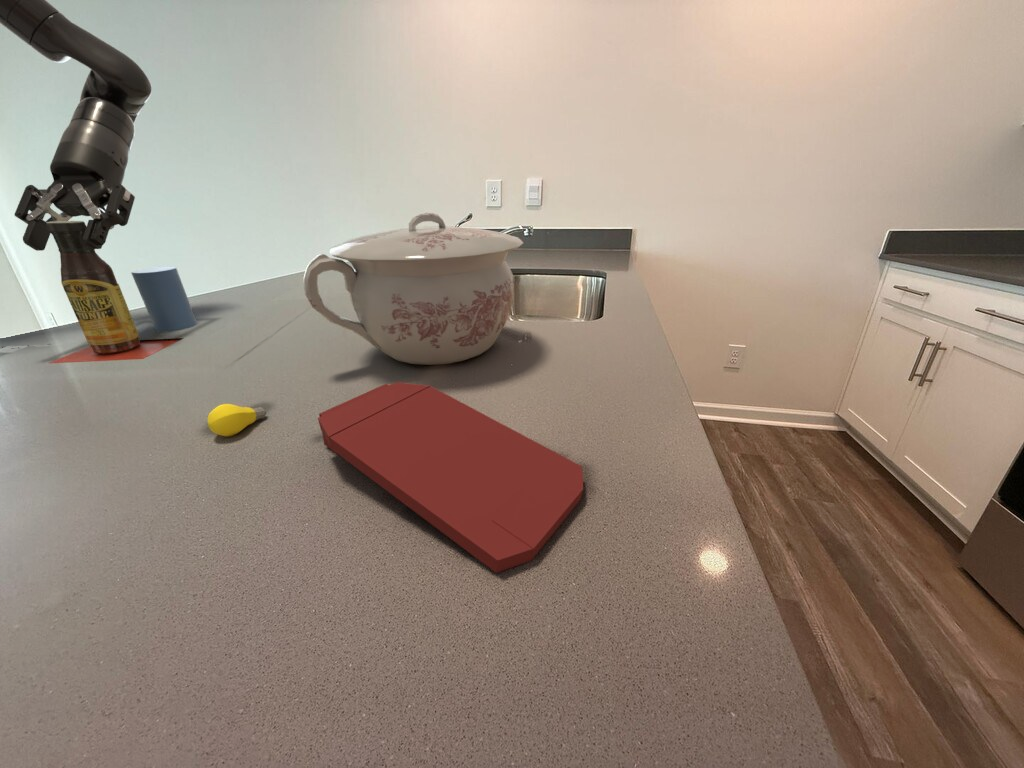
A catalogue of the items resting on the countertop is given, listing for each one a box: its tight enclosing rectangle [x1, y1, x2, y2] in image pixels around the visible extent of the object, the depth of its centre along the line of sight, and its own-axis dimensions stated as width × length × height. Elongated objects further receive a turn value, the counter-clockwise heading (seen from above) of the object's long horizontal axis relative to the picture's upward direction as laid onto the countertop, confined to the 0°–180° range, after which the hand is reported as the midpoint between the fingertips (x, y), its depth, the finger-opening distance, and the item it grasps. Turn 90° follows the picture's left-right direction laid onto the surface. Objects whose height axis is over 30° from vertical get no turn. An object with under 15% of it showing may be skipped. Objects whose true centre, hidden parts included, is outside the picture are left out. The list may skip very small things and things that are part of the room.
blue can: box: [130, 266, 198, 333], centre depth 75 cm, size 6×6×11 cm
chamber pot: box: [302, 212, 524, 366], centre depth 62 cm, size 28×28×21 cm
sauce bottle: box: [46, 220, 141, 354], centre depth 63 cm, size 7×6×20 cm
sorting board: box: [49, 337, 184, 364], centre depth 72 cm, size 14×20×1 cm
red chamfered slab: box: [317, 381, 584, 574], centre depth 38 cm, size 12×5×25 cm
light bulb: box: [206, 403, 267, 437], centre depth 45 cm, size 3×6×4 cm, turn 156°
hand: (62, 246), depth 59 cm, fingers open, 7 cm apart
